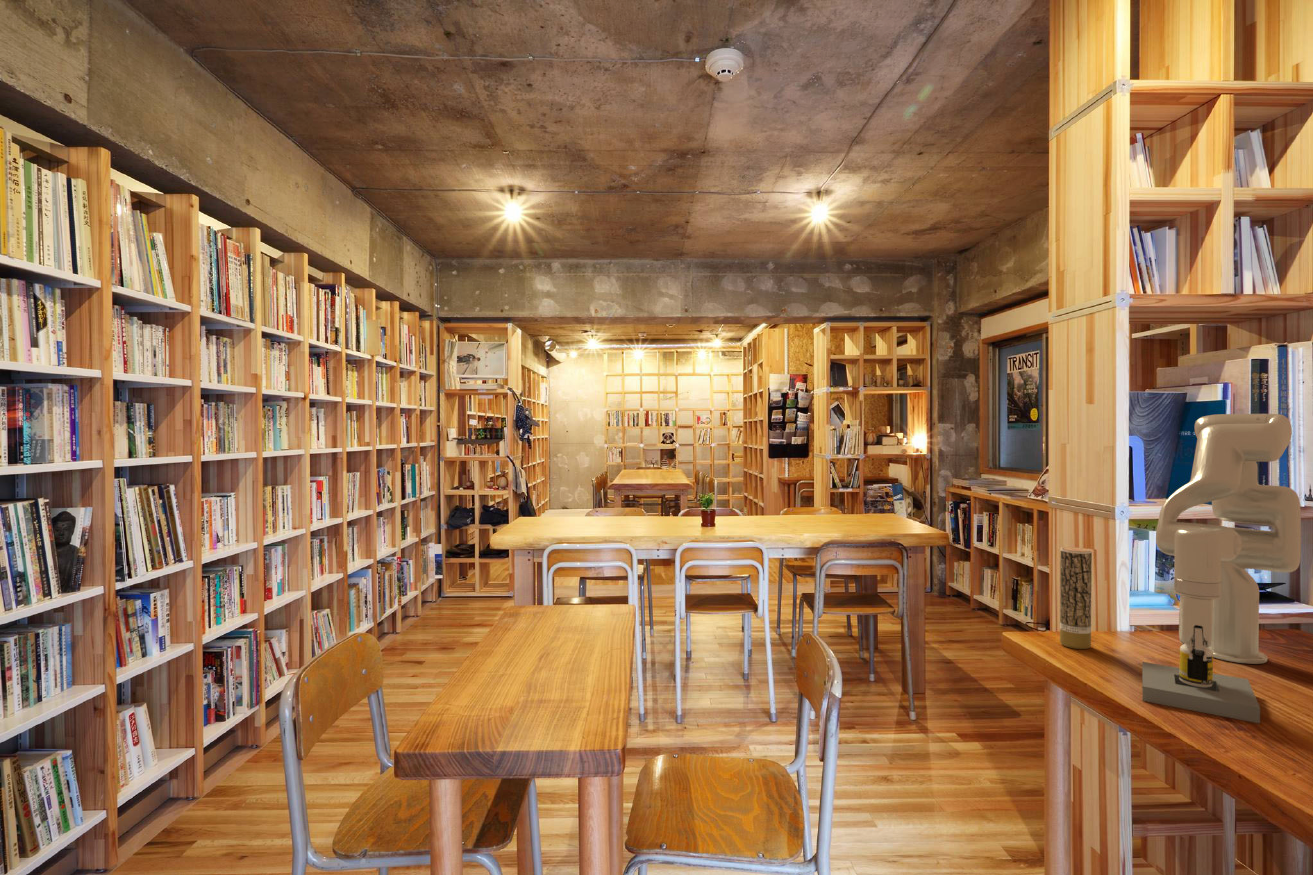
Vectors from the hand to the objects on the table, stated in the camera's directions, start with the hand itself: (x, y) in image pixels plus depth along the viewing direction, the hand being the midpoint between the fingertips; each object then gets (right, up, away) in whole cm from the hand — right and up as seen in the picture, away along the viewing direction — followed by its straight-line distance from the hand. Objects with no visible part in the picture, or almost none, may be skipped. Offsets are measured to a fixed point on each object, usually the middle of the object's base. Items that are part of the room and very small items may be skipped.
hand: (1196, 673), depth 139 cm
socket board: (0, -5, 0) cm, 5 cm away
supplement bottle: (0, -2, 0) cm, 2 cm away
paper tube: (-5, -5, +33) cm, 33 cm away
